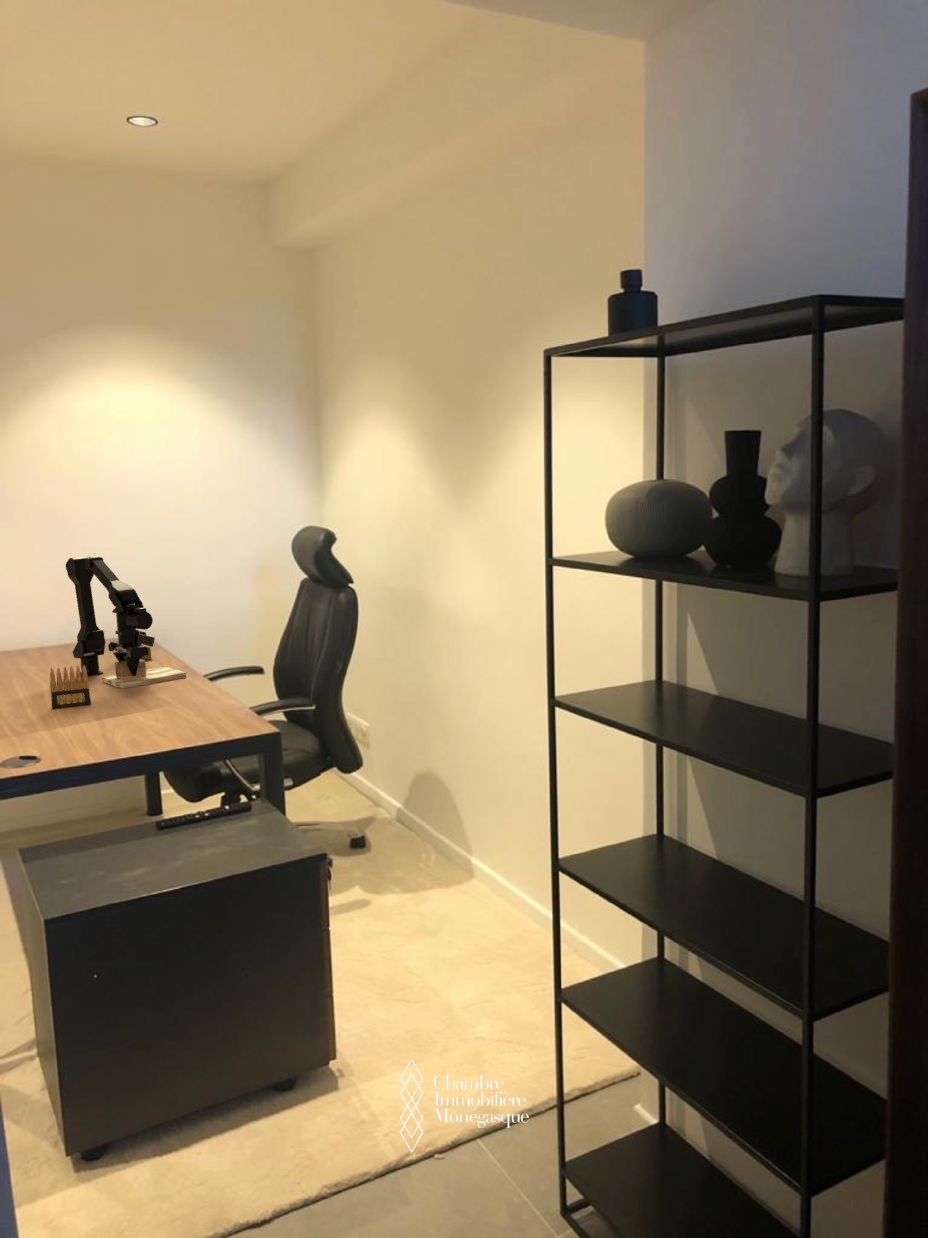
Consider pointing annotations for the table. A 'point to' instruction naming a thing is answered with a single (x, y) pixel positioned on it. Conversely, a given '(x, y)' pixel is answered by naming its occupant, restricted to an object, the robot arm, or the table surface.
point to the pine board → (146, 677)
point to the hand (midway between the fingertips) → (130, 674)
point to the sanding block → (125, 673)
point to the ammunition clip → (69, 689)
